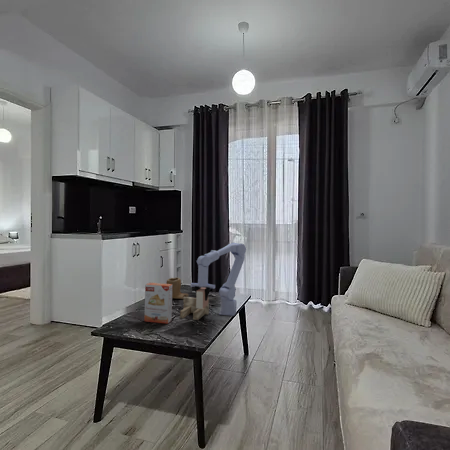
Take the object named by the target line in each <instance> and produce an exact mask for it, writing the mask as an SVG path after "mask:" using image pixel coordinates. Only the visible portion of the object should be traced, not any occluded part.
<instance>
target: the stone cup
mask: <svg viewBox="0 0 450 450" xmlns="http://www.w3.org/2000/svg"><path fill="white" fill-rule="evenodd" d="M165 282H166V283H165V284H172V299H179V300H184V297H189V293H184V292H183V293H182V291H181V288H182V287H181V286H182V280H181V278H180V277H178V276H177V277H170V278H168V279H166V281H165Z"/></svg>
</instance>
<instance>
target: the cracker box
mask: <svg viewBox="0 0 450 450" xmlns="http://www.w3.org/2000/svg"><path fill="white" fill-rule="evenodd" d="M144 288H145V289H144V290H145V291H144V316H143V317H144V320H143V321H144V322H146V323H147V322H148V323H158V324H168V325H169V323H171V322H172V320H173V319H172V316H173V315H172V314H173V313H172V311H173V298H172V284H167V283H159V282H148V283H146V284H145V287H144Z"/></svg>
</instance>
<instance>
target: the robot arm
mask: <svg viewBox="0 0 450 450" xmlns="http://www.w3.org/2000/svg"><path fill="white" fill-rule="evenodd" d="M246 252H247V247H246V245H245V244H244V243H242V242H241V243H239V242H231V243H228V244H227V245H226V246H224V247H222V248H219V249H218V250H213V249H211V250H210V252H208V253H205V254H204V255H200V256H198V258H197V260H196V263H197V268H198V269H197V271H198V273H197V282H191V283H190V288H193V287H194V288H193V290H194V293H196V292H197V290H199V289H200V288H202V287H203V288H206V289H205V301H207V298H208V299H209V294H210V292H211V290H212V289H213V290H214V289H216V284H211V283H209V266H210V265H211V264H212V263H213V262H215V261H217V260H219V259H220V257H221V256H223V255H225V254H228V253H231V254H232V255H233V258H234V261H233V264H232V267H231V270H230V271H229V274H228V277H227V280H226V282H224V283H223V284H222V286H221V287H220V288H219V291H218V295H219V296H220V312H219V313H218V315H221V316H231V317H234V316H235V315H236V314H237V312H238V311H237V300H236V299H235V297H236V291H237V288H236V286H235V285H236V283H237V280H238V277H239V275H240V272H241V270H242V268H243V267H242V266H243V264H244V261H245V259H246Z"/></svg>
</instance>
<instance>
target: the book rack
mask: <svg viewBox="0 0 450 450" xmlns="http://www.w3.org/2000/svg"><path fill="white" fill-rule="evenodd" d="M209 312H210V298H208V305H207V306H206V307H205V308H203V309H197V308H196V297H190V296H188V297H184V299H183V309H180V311H179V313H180V314H179V318H180V319H185V318H186V317H187V316H189V315H190V314H192V319H193V320H195V321H197V320H198V321H199V320H200V319H201V318H202V317H203V316H205V315H206V316H207V315H209Z"/></svg>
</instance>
